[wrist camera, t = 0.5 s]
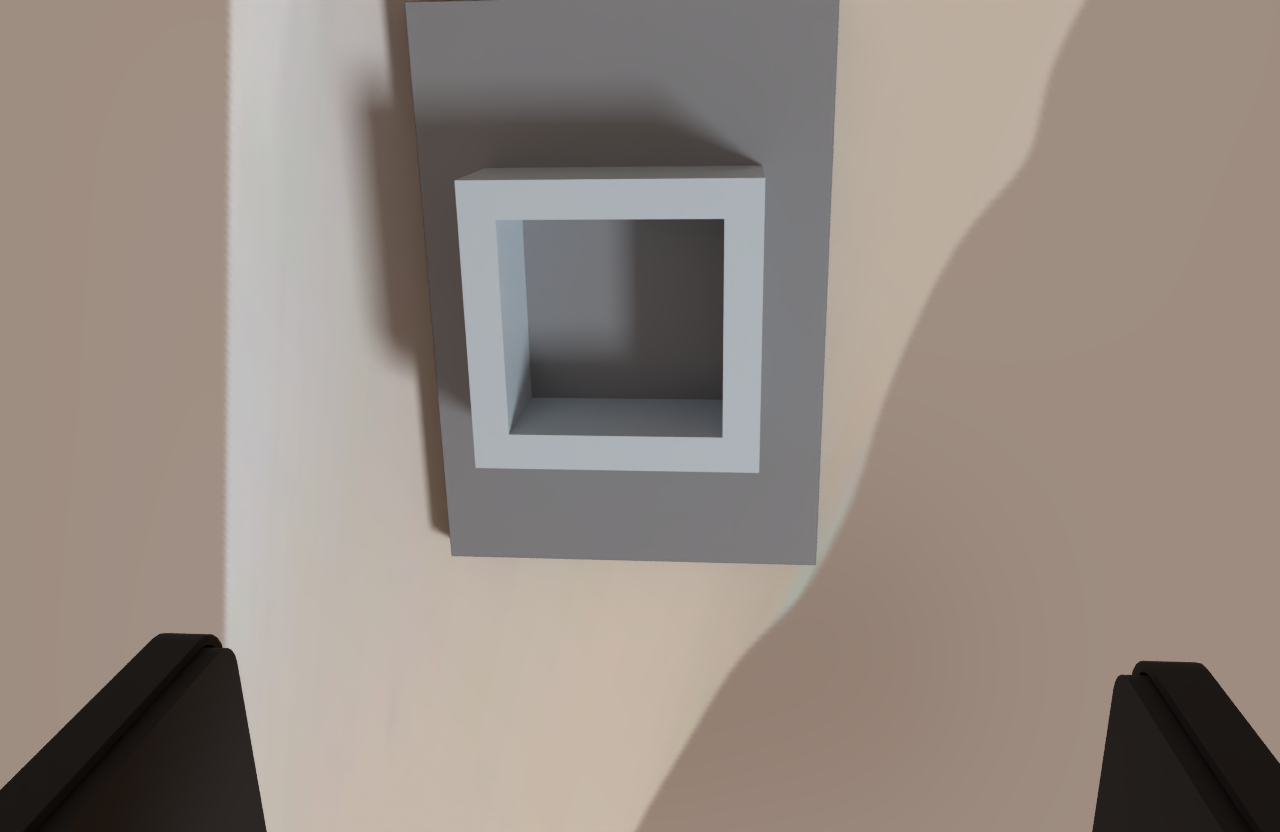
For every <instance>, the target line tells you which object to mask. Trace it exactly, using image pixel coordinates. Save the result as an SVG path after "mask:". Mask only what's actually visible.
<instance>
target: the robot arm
mask: <svg viewBox="0 0 1280 832" xmlns="http://www.w3.org/2000/svg"><path fill="white" fill-rule="evenodd" d="M0 832H267V831H266V825H265V820H264V814H263V808H262V803H261V797H260V791H259V785H258V780H257V774H256V768H255V762H254V757H253V751H252V745H251V739H250V734H249V728H248V722H247V716H246V711H245V705H244V699H243V693H242V688H241V682H240V676H239V670H238V665H237V660H236V657H235V654H234V653H233V651H232V650H230V649H229V648H222V644H221V642H220V641H219V639H218V638H217V637H215V636H214V635H211V634H178V633H177V634H176V633H163V634H159V635H157V636H156V637H154V638H153V639H152V640H151V641H150V642H149V643H148V644H147V645H146V646H145V647H144V648H143V649H142V650H141V651H140V652H139V653H138V654H137V655H136V656H135V657H134V658H133V659H132V660H131V661H130V662H129V663H128V664H127V665H126V666H125V667H124V668H123V669H122V670H121V671H120V672H119V673H118V674H117V675H116V676H115V677H114V678H113V679H112V680H111V681H110V682H109V683H108V684H107V685H106V686H105V687H104V688H103V689H102V690H101V691H100V692H99V693H98V694H97V695H96V696H95V697H94V698H93V699H91V700H90V701H89V702H88V704H87V705H85V706H84V707H83V708H82V709H81V710H80V711H79V712H78V713H77V714H76V715H75V716H74V717H73V718H72V719H71V720H70V721H69V722H68V723H67V724H66V725H65V726H64V727H63V728H62V729H61V730H60V731H59V732H58V733H57V735H55V736H54V737H53V738H52V739H51V740H50V741H49V742H48V743H47V744H46V745H45V746H44V747H43V748H42V749H41V750H40V751H39V752H38V753H37V754H36V755H35V756H34V757H33V758H32V759H31V760H30V761H29V762H28V763H27V764H26V765H25V766H24V767H23V768H22V769H21V770H20V771H19V772H18V773H17V774H16V775H15V776H14V777H13V778H12V779H11V780H10V781H9V782H8V783H7V784H6V785H5V786H4V787H3V788H2V789H1V790H0ZM1092 832H1280V763H1279V762H1278V761H1277V760H1276V758H1275V757H1274V756H1273V754H1272V753H1271V752H1270V750H1269V749H1268V748H1267V746H1266V745H1265V744H1264V743H1263V741H1262V740H1261V739H1260V737H1259V736H1258V735H1257V733H1256V732H1255V731H1254V729H1253V728H1252V727H1251V725H1250V724H1249V723H1248V722H1247V720H1246V719H1245V718H1244V716H1243V715H1242V714H1241V712H1240V711H1239V710H1238V709H1237V707H1236V706H1235V705H1234V703H1233V702H1232V701H1231V699H1230V698H1229V697H1228V696H1227V694H1226V693H1225V691H1224V690H1223V689H1222V688H1221V686H1220V685H1219V684H1218V682H1217V681H1216V680H1215V678H1214V677H1213V676H1212V674H1211V673H1210V672H1209V671H1208V669H1206V667H1205V666H1204V665H1202V664H1200V663H1196V662H1194V663H1193V662H1161V661H1140V662H1139V663H1137V664H1136V666H1135V668H1134V670H1133V672H1132V675H1120V676H1118V677H1117V679H1116V681H1115V685H1114V689H1113V696H1112V702H1111V710H1110V716H1109V723H1108V730H1107V737H1106V743H1105V750H1104V756H1103V763H1102V770H1101V777H1100V784H1099V791H1098V798H1097V804H1096V811H1095V817H1094V824H1093V831H1092Z"/></svg>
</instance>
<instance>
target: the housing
mask: <svg viewBox="0 0 1280 832" xmlns="http://www.w3.org/2000/svg"><path fill="white" fill-rule="evenodd" d="M405 8H406V20H407V32H408V43H409V55H410V67H411V79H412V91H413V103H414V115H415V127H416V139H417V151H418V162H419V174H420V186H421V198H422V210H423V222H424V234H425V246H426V258H427V269H428V281H429V293H430V305H431V317H432V329H433V341H434V353H435V365H436V377H437V388H438V400H439V412H440V424H441V436H442V448H443V460H444V472H445V484H446V495H447V507H448V519H449V531H450V543H451V555H452V556H474V557H513V558H552V559H592V560H631V561H670V562H710V563H749V564H788V565H816V552H817V528H818V503H819V479H820V455H821V431H822V407H823V383H824V359H825V335H826V310H827V286H828V262H829V238H830V214H831V190H832V166H833V142H834V117H835V93H836V69H837V45H838V21H839V0H482V1H441V2H405Z"/></svg>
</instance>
